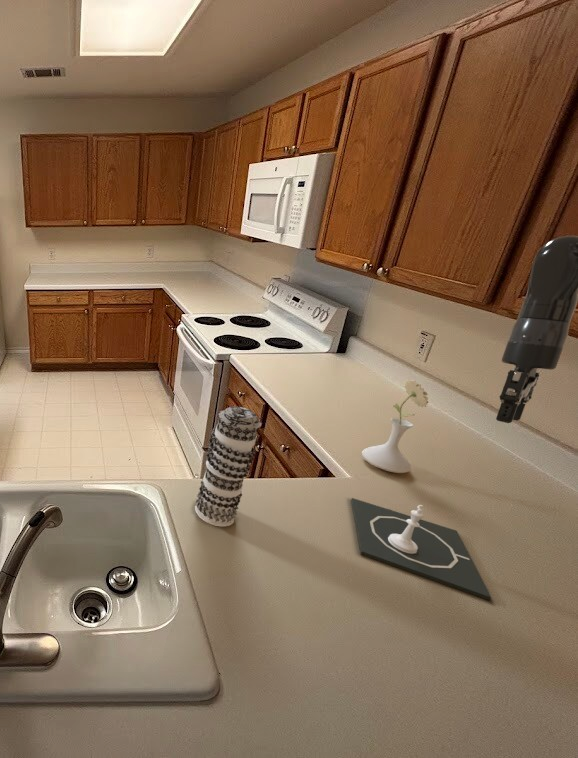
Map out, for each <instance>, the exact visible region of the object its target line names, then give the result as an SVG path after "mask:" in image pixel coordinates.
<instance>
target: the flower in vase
mask: <svg viewBox="0 0 578 758" xmlns="http://www.w3.org/2000/svg"><path fill="white" fill-rule="evenodd" d="M404 389H405V393H406V394H407V396H408V397H407V398H405V399H404V401H402V403H401V405H399V404H398V403H395V404H393V406H392V407H393V408H394V409H396V411H397V412H398V413H399V417H391V418H390V421H391V432H390V436H389V438H388V440H387V441H386V442H385V443H383V444H378V445H372V446H369V447H365V448H364V449H363V450H362V451H361V455H362V458H363V459H364V460H365V461H366V462H368V464H370V465H372V466H373V467H376V468H378V469H379V470H383V471H385V472H388V473H389V472H390V473H394V474H405V473H408V472H410V471H411V464H410V461H409V460H408V459H407V457H406V456H405V454H403V453H402V452H401V450H400V449H399V443H400V441H401V438H402V437H403V435H404V434H405V432H406V431H408V430H409V429H410V428H412V427H413V426H414V424H413V423H412V422H410V421H408V420H406V419H403V418H408V417H412V416H415V414H402V407H403V406H404V404H406V402H407V401H408V400H409V399H410V400H411V402H413V403H414V404H415V405H417V406H418V407H421V408H426V407H427V405H428V404H429V400H428V399H429V398H428V392H427V391H425V389H424V387H422V384H421V383H420V382H418V383H417V382H416V380H414V379H411V380H410V379H407V380H405V383H404Z"/></svg>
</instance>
